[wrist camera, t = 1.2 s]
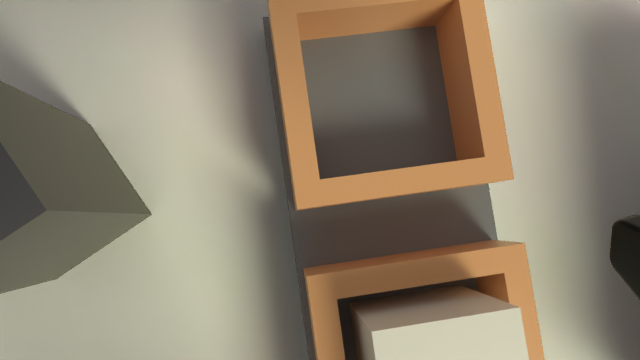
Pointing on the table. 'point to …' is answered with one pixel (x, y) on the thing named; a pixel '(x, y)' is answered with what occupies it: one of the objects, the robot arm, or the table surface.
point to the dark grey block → (55, 192)
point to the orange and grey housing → (397, 181)
